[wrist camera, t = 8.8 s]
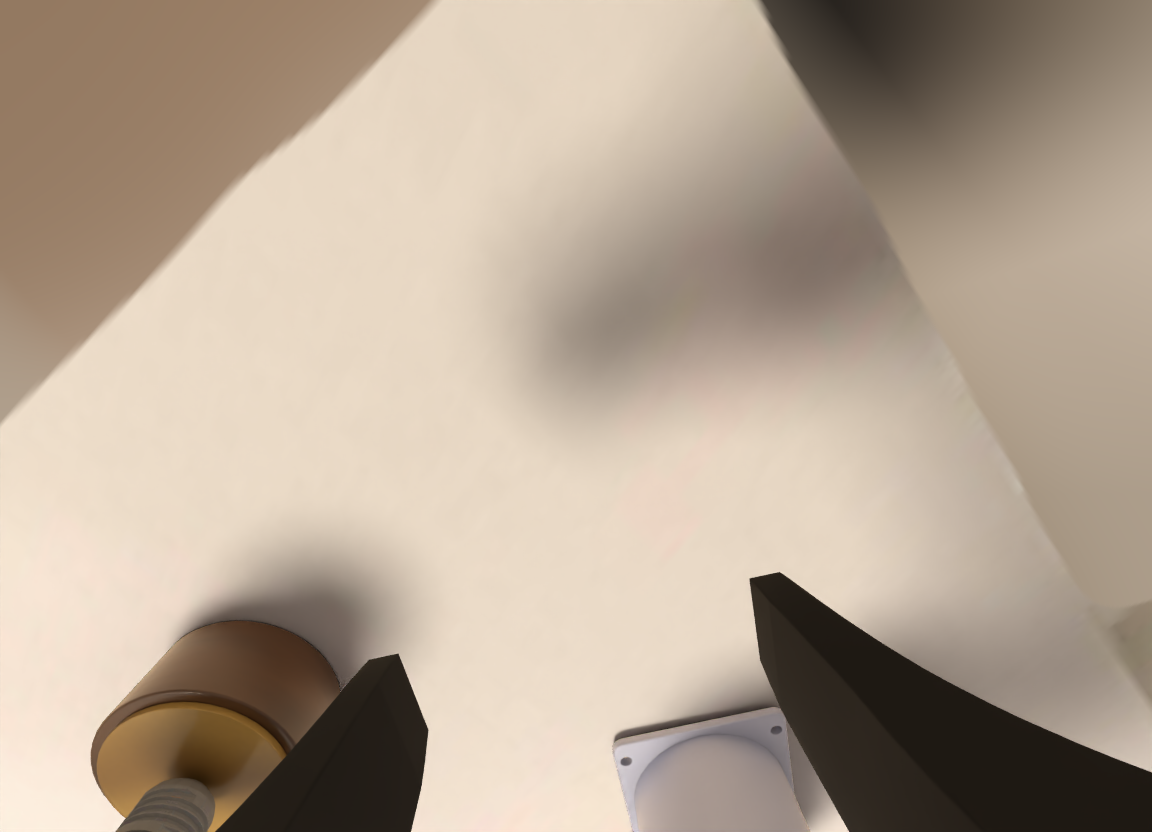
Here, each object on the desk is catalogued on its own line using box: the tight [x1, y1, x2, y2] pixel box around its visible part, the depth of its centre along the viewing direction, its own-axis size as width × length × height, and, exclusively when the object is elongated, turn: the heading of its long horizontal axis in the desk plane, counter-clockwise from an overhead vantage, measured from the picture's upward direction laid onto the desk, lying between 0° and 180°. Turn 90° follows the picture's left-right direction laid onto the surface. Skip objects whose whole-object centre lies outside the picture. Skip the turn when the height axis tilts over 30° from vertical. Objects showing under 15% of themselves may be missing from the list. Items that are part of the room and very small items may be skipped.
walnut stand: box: [91, 621, 340, 832], centre depth 21 cm, size 8×8×4 cm
